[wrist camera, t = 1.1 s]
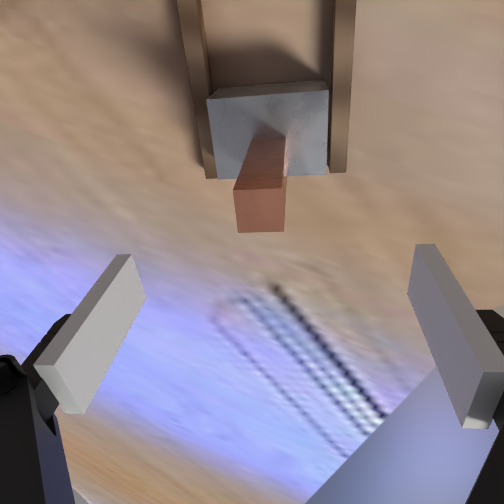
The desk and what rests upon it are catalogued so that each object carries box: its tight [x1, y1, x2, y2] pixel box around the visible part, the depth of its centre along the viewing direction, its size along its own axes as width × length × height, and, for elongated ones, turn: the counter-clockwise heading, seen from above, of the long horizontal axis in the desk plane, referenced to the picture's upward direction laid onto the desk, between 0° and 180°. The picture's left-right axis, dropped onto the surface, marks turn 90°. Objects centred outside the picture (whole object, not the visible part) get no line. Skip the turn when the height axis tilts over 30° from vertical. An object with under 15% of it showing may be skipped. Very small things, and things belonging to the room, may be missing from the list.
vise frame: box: [176, 0, 356, 179], centre depth 27 cm, size 28×15×9 cm, turn 5°
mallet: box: [206, 79, 329, 233], centre depth 28 cm, size 7×10×17 cm
